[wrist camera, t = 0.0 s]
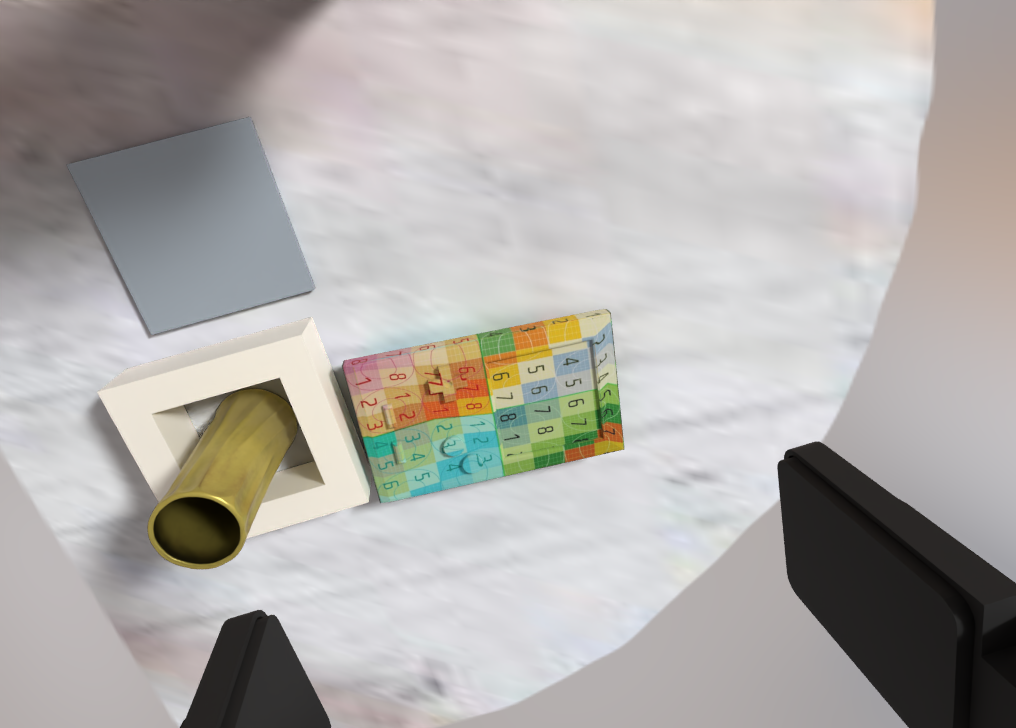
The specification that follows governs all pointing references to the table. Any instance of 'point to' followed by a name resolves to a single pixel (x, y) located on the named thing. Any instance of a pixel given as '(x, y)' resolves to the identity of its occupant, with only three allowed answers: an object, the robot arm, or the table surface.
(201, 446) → the vase
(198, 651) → the table surface
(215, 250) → the mat
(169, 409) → the well board
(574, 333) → the puzzle game
